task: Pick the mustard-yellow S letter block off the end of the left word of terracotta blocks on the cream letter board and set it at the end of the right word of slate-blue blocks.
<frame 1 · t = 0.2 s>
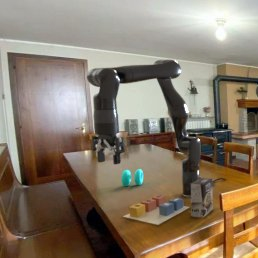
hand: (109, 162, 95), 29 cm above the table, tool pointing down, fingers open, 8 cm apart
letter board: (157, 212, 116), on the table
coffee box: (202, 214, 116), on the table
right block 2: (166, 213, 114), point 1 cm above the table, touching letter board
right block 1: (176, 208, 120), point 1 cm above the table, touching letter board
donuts: (133, 185, 153), on the table
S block: (137, 215, 112), point 1 cm above the table, touching letter board
left block 1: (159, 204, 124), point 1 cm above the table, touching letter board
left block 2: (149, 209, 118), point 1 cm above the table, touching letter board
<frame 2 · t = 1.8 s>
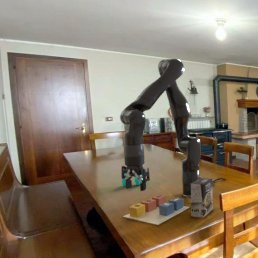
hand: (136, 189, 111), 13 cm above the table, tool pointing down, fingers open, 8 cm apart
nothing on the table moved.
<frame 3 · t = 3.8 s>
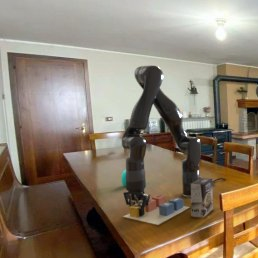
hand: (137, 214, 112), 1 cm above the table, tool pointing down, fingers closed on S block, 4 cm apart
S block: (137, 215, 112), point 1 cm above the table, touching gripper, letter board
everything else where it was.
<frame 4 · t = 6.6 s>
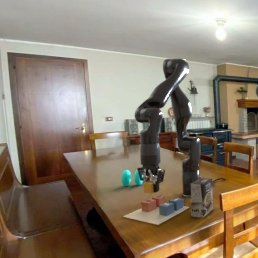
hand: (151, 191, 108), 13 cm above the table, tool pointing down, fingers closed on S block, 4 cm apart
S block: (151, 191, 108), point 13 cm above the table, touching gripper
everything else where it was.
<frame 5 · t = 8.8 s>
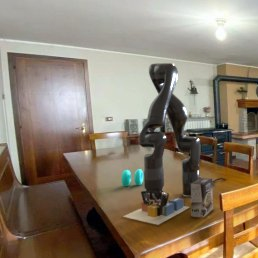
hand: (155, 214, 108), 3 cm above the table, tool pointing down, fingers closed on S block, 4 cm apart
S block: (155, 214, 108), point 3 cm above the table, touching gripper
everything else where it was.
when the fingers open (1 cm above the table, at t = 9.8 s): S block stays where it is, resting on letter board.
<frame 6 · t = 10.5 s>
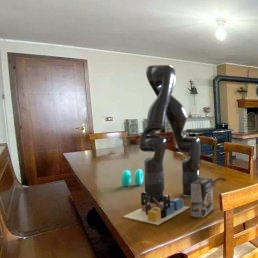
hand: (156, 216, 109), 2 cm above the table, tool pointing down, fingers open, 8 cm apart
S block: (155, 219, 109), point 1 cm above the table, touching letter board
everything else where it was.
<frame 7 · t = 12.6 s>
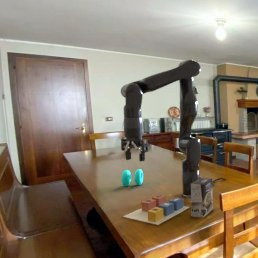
hand: (135, 160, 117), 24 cm above the table, tool pointing down, fingers open, 8 cm apart
nothing on the table moved.
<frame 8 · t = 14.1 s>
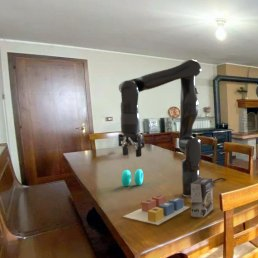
hand: (132, 155, 119), 26 cm above the table, tool pointing down, fingers open, 8 cm apart
nothing on the table moved.
at the end: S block 0.1 cm from the target spot, point 0.6 cm above the table; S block tilted 0°; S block 6.1 cm from the right block 2 (horizontally) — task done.
